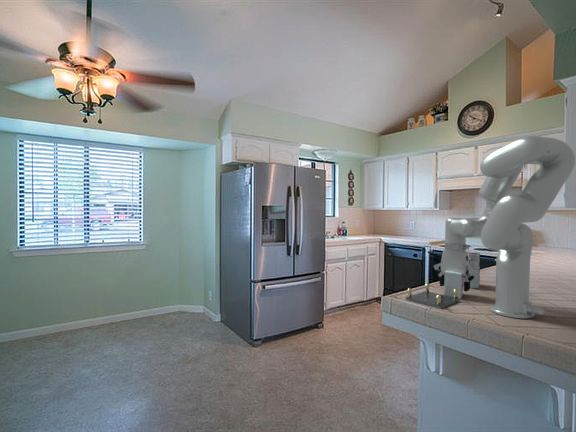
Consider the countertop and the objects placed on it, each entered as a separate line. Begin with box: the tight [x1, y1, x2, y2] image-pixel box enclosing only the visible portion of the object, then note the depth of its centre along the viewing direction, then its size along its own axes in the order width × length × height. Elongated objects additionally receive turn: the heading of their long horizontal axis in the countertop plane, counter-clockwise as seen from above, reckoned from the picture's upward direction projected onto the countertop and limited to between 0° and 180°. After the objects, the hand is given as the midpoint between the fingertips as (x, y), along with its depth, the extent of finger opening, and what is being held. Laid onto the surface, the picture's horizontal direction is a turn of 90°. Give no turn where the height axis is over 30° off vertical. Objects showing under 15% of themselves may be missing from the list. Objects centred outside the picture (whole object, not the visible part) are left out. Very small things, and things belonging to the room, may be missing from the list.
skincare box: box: [443, 270, 464, 300], centre depth 130 cm, size 10×6×10 cm, turn 147°
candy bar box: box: [463, 249, 481, 290], centre depth 146 cm, size 11×5×16 cm, turn 179°
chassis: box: [405, 282, 461, 310], centre depth 123 cm, size 14×15×4 cm
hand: (454, 288), depth 130 cm, fingers open, 9 cm apart
